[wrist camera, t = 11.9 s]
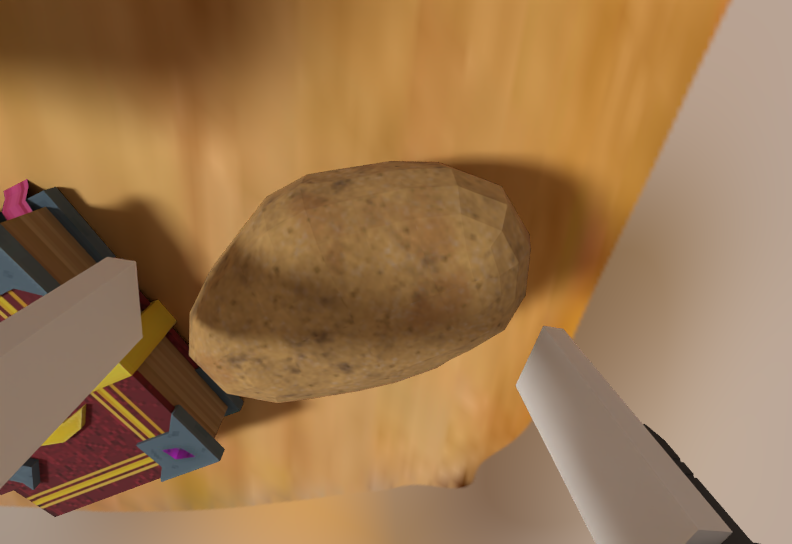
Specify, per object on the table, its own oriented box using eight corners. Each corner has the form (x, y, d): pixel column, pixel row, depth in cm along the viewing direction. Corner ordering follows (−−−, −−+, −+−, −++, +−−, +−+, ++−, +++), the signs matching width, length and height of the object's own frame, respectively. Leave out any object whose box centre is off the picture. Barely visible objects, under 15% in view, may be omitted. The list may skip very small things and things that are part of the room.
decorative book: (102, 453, 25) (43, 533, 20) (-143, 257, 18) (-314, 313, 13) (247, 397, 23) (218, 469, 19) (43, 160, 16) (-78, 187, 12)
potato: (183, 216, 18) (58, 301, 11) (457, 97, 16) (527, 103, 9) (284, 359, 22) (244, 489, 15) (508, 276, 20) (583, 376, 13)
